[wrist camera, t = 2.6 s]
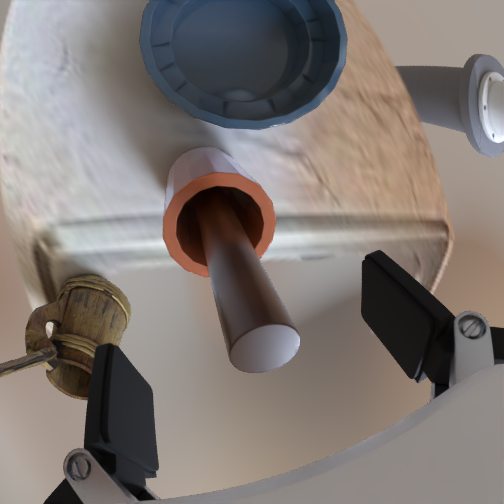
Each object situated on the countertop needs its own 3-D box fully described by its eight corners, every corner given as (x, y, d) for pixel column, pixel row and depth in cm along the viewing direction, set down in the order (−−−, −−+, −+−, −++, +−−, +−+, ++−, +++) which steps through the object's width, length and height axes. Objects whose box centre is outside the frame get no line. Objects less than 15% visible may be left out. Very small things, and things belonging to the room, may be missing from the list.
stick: (213, 167, 25) (296, 313, 8) (220, 191, 27) (303, 359, 10) (188, 175, 25) (219, 339, 8) (195, 199, 26) (240, 381, 10)
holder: (229, 137, 25) (262, 158, 16) (246, 203, 29) (284, 258, 19) (158, 160, 24) (145, 195, 15) (180, 224, 28) (185, 290, 19)
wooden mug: (79, 226, 25) (4, 365, 10) (144, 320, 32) (144, 462, 17) (25, 261, 25) (-46, 386, 10) (90, 342, 32) (72, 469, 17)
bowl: (294, -27, 18) (321, -49, 12) (328, 107, 26) (361, 110, 20) (133, -1, 16) (123, -26, 11) (173, 145, 24) (171, 155, 19)
